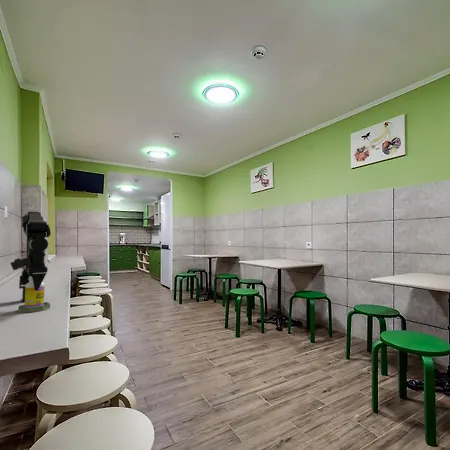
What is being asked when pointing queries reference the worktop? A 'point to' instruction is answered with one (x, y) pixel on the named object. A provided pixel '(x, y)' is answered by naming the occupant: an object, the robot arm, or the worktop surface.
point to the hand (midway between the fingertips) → (35, 289)
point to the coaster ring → (34, 308)
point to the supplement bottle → (34, 294)
